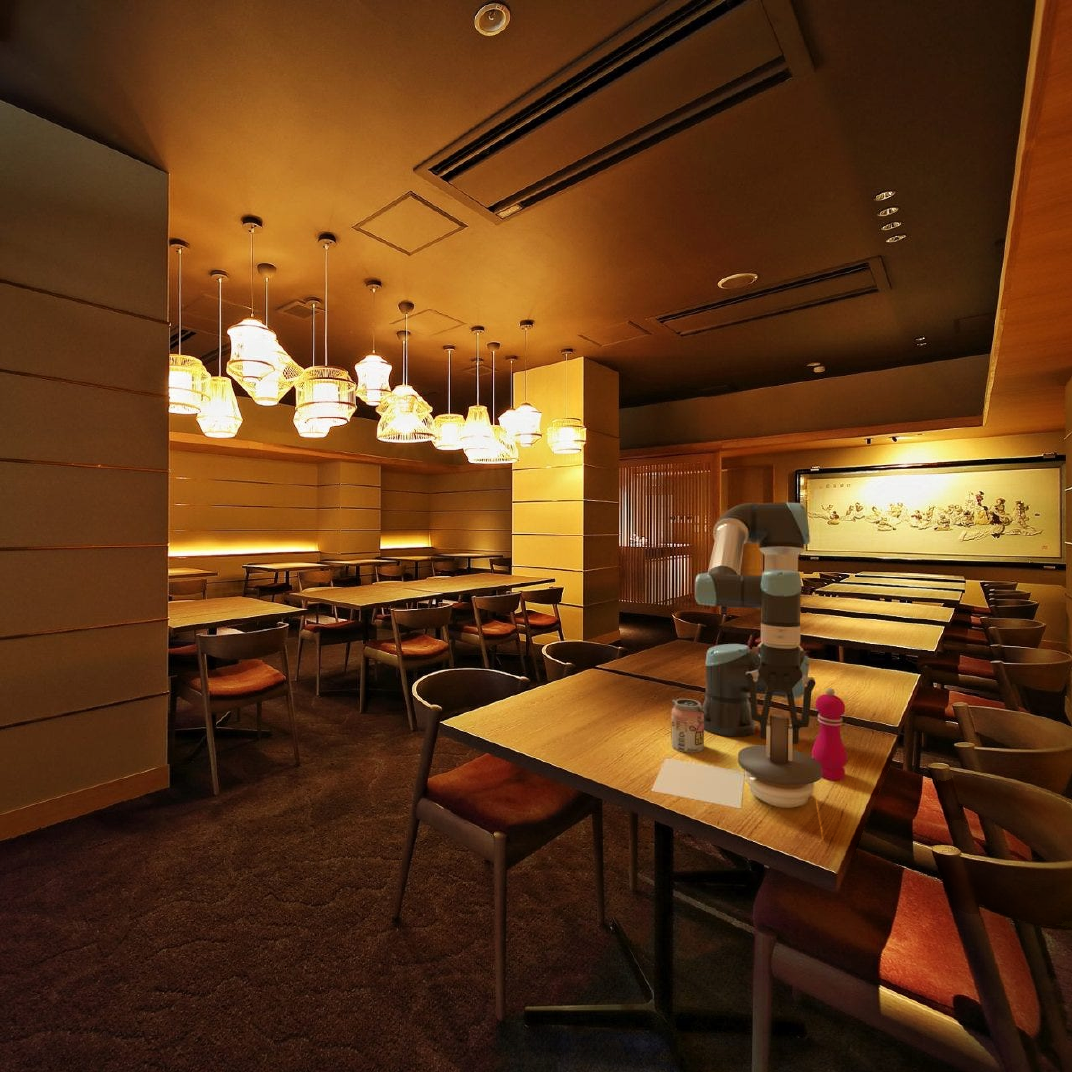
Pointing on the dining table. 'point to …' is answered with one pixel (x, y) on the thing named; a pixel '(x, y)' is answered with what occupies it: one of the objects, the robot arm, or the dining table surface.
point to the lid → (779, 758)
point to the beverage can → (687, 725)
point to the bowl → (779, 791)
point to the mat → (700, 782)
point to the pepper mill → (830, 736)
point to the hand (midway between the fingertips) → (778, 756)
